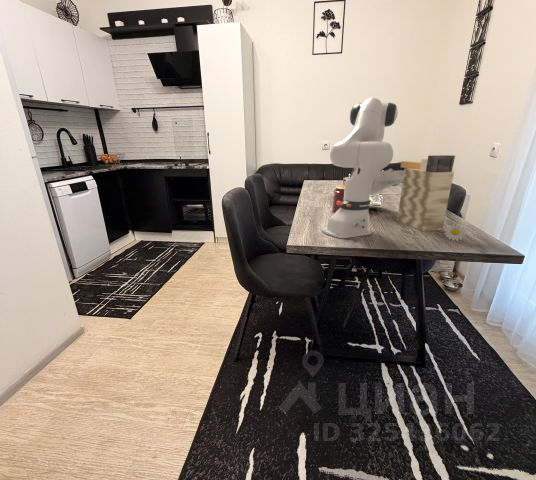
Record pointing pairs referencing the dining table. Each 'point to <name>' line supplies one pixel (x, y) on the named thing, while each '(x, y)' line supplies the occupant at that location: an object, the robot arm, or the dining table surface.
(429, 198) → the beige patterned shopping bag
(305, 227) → the dining table surface
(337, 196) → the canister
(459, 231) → the decorative flower
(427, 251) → the dining table surface
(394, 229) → the dining table surface
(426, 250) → the dining table surface
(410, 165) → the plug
